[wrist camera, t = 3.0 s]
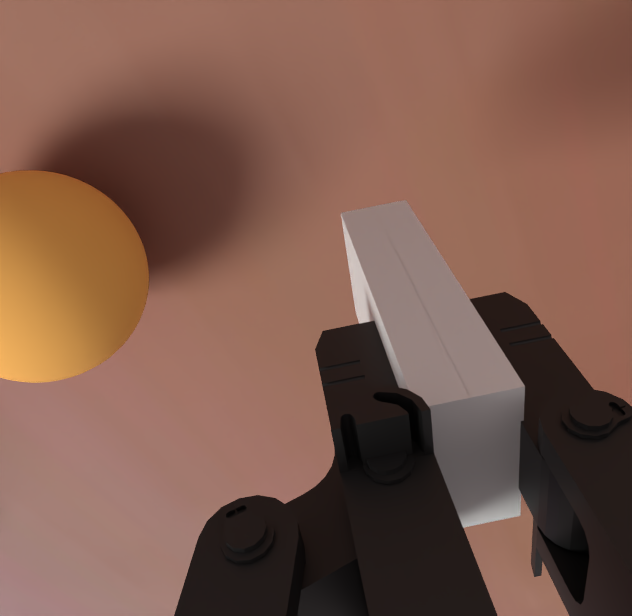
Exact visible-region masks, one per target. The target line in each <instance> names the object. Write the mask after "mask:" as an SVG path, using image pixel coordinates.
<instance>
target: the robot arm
mask: <svg viewBox="0 0 632 616" xmlns="http://www.w3.org/2000/svg"><path fill="white" fill-rule="evenodd" d="M341 218H342V225H343V231H344V238H345V244H346V251H347V257H348V264H349V271H350V277H351V284H352V290H353V297H354V304H355V310H356V314H357V317H358V321H359V324H355V325H350V326H345V327H340V328H335V329H330V330H326V331H323V332H322V334H321V337H320V339H319V342H318V344H317V346H316V349H315V351H316V356H317V361H318V366H319V371H320V376H321V381H322V386H323V391H324V396H325V400H326V405H327V410H328V415H329V420H330V425H331V432H332V437H333V442H334V446H335V457H334V460H333V464H332V467H331V468H330V470H329V472H328V473H327V475H326V477H325V478H324V479H323V480H322V481H321V482H320V483H319V484H318V485H317V486H316V487H314V488H313V489H311V490H309V491H308V492H306V493H305V494H303V495H301V496H299V497H297V498H296V499H294V500H292V501H290V502H288V503H286V504H284V503H282V502H281V501H279V500H277V499H276V498H272V497H265V496H259V495H256V496H251V497H245V498H239V499H237V500H235V501H233V502H231V503H229V504H227V505H225V506H223V507H221V508H220V509H219V510H218V511H217V512H216V513H215V514H214V515H213V516H212V517H211V518H210V519H209V520H208V521H207V523H206V524H205V526H204V528H203V530H202V532H201V534H200V536H199V538H198V541H197V544H196V547H195V551H194V554H193V557H192V560H191V563H190V567H189V570H188V573H187V576H186V579H185V583H184V586H183V589H182V592H181V595H180V599H179V602H178V605H177V608H176V611H175V615H174V616H497V613H496V611H495V608H494V606H493V603H492V600H491V598H490V595H489V593H488V590H487V588H486V585H485V582H484V580H483V577H482V575H481V572H480V570H479V567H478V565H477V562H476V559H475V557H474V554H473V552H472V549H471V547H470V544H469V541H468V539H467V536H466V534H465V531H464V529H463V528H464V527H468V526H473V525H478V524H483V523H488V522H492V521H497V520H502V519H507V518H512V517H516V516H520V509H521V494H522V496H523V498H524V500H525V502H526V504H527V506H528V508H529V509H530V511H531V513H532V515H533V535H532V553H531V565H532V569H533V574H534V577H536V576H541V572H542V560H543V562H544V564H545V566H546V568H547V570H548V573H549V575H550V577H551V579H552V581H553V583H554V585H555V587H556V589H557V591H558V593H559V595H560V597H561V599H562V601H563V603H564V605H565V607H566V609H567V611H568V613H569V616H632V407H631V406H630V405H629V404H628V403H627V402H626V401H624V400H623V399H621V398H618V397H616V396H614V395H612V394H609V393H607V392H604V391H598V390H594V389H593V388H592V387H591V385H590V384H589V383H588V381H587V380H586V379H585V378H584V376H583V375H582V374H581V372H580V371H579V370H578V369H577V367H576V366H575V365H574V364H573V362H572V361H571V360H570V358H569V357H568V356H567V355H566V353H565V352H564V351H563V349H562V348H561V347H560V346H559V344H558V343H557V342H556V341H555V339H554V338H553V339H552V338H551V334H550V333H549V332H548V330H547V329H546V328H545V326H544V325H543V324H542V325H541V323H540V320H539V319H538V318H537V316H536V315H535V314H534V312H533V311H532V310H531V309H530V307H529V306H528V305H527V304H526V303H524V302H522V301H520V300H519V299H517V298H515V297H513V296H511V295H510V294H508V293H506V292H503V293H498V294H493V295H488V296H483V297H478V298H473V299H469V298H468V296H467V295H466V293H465V292H464V290H463V289H462V287H461V285H460V284H459V282H458V281H457V279H456V278H455V276H454V274H453V273H452V271H451V270H450V268H449V267H448V265H447V263H446V262H445V260H444V259H443V257H442V256H441V254H440V253H439V251H438V249H437V248H436V246H435V245H434V243H433V242H432V240H431V238H430V237H429V235H428V234H427V232H426V231H425V229H424V227H423V226H422V224H421V223H420V221H419V220H418V218H417V217H416V215H415V213H414V212H413V210H412V209H411V207H410V206H409V204H408V202H407V201H406V200H403V201H398V202H393V203H388V204H383V205H378V206H373V207H368V208H363V209H358V210H353V211H348V212H343V213H341Z"/></svg>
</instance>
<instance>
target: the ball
mask: <svg viewBox="0 0 632 616" xmlns="http://www.w3.org/2000/svg"><path fill="white" fill-rule="evenodd" d="M148 288H149V270H148V263H147V257H146V253H145V250H144V246H143V244H142V241H141V239H140V237H139V234H138V233H137V231H136V229H135V228H134V226H133V224H132V223H131V221H130V220H129V218H128V217H127V216H126V214H125V213H124V212H123V211H122V210H121V209H120V208H119V207H118V206H117V205H116V204H115V203H114V202H113V201H112V200H111V199H110V198H108V197H107V196H106V195H105V194H103V193H102V192H100V191H99V190H97V189H96V188H94V187H92V186H91V185H89V184H86V183H84V182H82V181H80V180H78V179H75V178H72V177H69V176H67V175H63V174H58V173H54V172H47V171H39V170H26V171H12V172H5V173H1V174H0V378H4V379H8V380H13V381H20V382H33V383H36V382H50V381H57V380H62V379H66V378H70V377H73V376H76V375H79V374H81V373H84V372H86V371H88V370H90V369H92V368H94V367H96V366H97V365H99V364H101V363H102V362H104V361H105V360H107V359H108V358H109V357H111V356H112V355H113V354H114V353H115V352H116V351H117V350H118V349H119V348H120V347H121V346H122V345H123V344H124V343H125V342H126V341H127V339H128V338H129V337H130V335H131V334H132V332H133V331H134V330H135V328H136V326H137V324H138V322H139V320H140V318H141V315H142V313H143V310H144V307H145V304H146V300H147V295H148Z"/></svg>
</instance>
